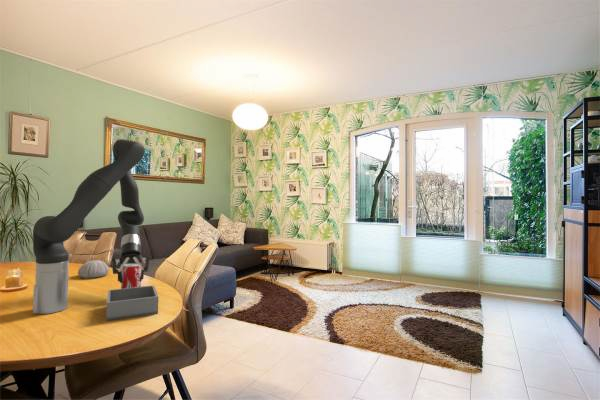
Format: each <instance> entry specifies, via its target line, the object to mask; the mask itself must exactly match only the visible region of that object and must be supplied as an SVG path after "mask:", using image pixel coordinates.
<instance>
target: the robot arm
mask: <svg viewBox="0 0 600 400" xmlns="http://www.w3.org/2000/svg"><path fill="white" fill-rule="evenodd" d="M145 151H146V149H145V146H144V145H143V144H142V143H141V142H137V141H134V140H129V139H123V138H122V139H118V140H116V141H115V142H114V143H113V146H112V154H113V160H114V161H113V162H111V163H109V164H107V165H105V166H103V167H100V168H98V169H96V170H94V171H92V172H91V173H90V174H89V175H88V176H87V177H86V178H85V179H84V180H83V181H82V182H80V184H79V185H78V187H77V188H76V191H75V193H74V195H73V198H72V200H71V201H70V202H69V204H68V205H67V206H66V207H65V208H64V209H63V210H62V211H61V212H60V213H58V214H57V215H46V216H42V217H41V218H39V219H37V221H36V222H35V223H34V225H33V229H32V245H33V246H32V247H33V248H32V250H33V254H34V256H35V283H34V285H33V294H32V295H33V296H32V297H33V299H32V301H33V302H32V303H33V305H32V314H33V315H37V314H39V315H40V314H41V315H44V314H53V313H59V312H61V311H64V310H66V309H67V308H68V305H69V302H68V301H69V298H68V297H69V271H70V270H69V268H70V267H69V263H70V262H69V261H70V260H69V259H70V254H69V252H68V250H67V249H66V247H65V244H64V242H66V241H68V240H69V239H70V238H72V236H73V235H74V234H75V233H76V231H77V230H78V229H79V227H80V226H81V225H82V223H83V221H84V220H85V219H86V217H88V215H89V214H90V213H91V212H92V210H93V209H95V208H96V207H97V205H98V204H99V203H100V202H101V201H102V200H103V199H104V198H105V197H106V196H107V195H108V194H109V193H110V192H111V191H112V190H113V188H115V187H114V186H115V185H117V184H118V183H119V186H120V199H121V205H122V207H124V208H127V209H128V208H130V209H132V210H121V211H120V212H119V213H118V215H117V221H118V223H119V226H120V228H121V242H120V258H118V259H117V258H114V257H113V258H112V259H111V269H112V274H113V275H117V282H119V283H120V284H121V283H122V269H123V267H124V265H125V264H129V263H138V264H140V267H141V276H140V281H141V282H142V281H143V279H144V274H145V272H146V273H147V272H148V271H149V265H150V257H149V256H146V257H143V256H142V244H141V230H140V227H139V226H141V225H142V224H143V223H144V220H145V216H144V214H143V211H142V208H141V206H140V199H139V198H140V196H139V195H140V194H139V187H138V184H137V181H136V180H135V178H134V176H133V174H132V172H131V170H132V169H133V168H134V167H135V166H136V165H138V164H139V163H140V162H141V161H142V160H143V158H144V156H145ZM142 262H143V264H145V265H144V267H143V266H142V264H141V263H142ZM118 264H120V266H119V268H118V269H117V265H118Z"/></svg>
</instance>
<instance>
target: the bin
mask: <svg viewBox="0 0 600 400" xmlns="http://www.w3.org/2000/svg"><path fill="white" fill-rule="evenodd" d="M106 297H107V299H106V315H105V317H106V318H105V319H106V320H105V321H106V322H109V321H116V320H117V321H118V320H123V319H129V318H131V319H132V318H135V317H136V318H137V317H144V316H150V315H151V316H152V315H157V314H159V294H158V291H157V289H156V286H155V285H145V286H141V287H133V288H124V289H121V288H115V289H108V290H107V296H106Z"/></svg>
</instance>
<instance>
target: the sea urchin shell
mask: <svg viewBox="0 0 600 400" xmlns="http://www.w3.org/2000/svg"><path fill="white" fill-rule="evenodd" d="M109 272H110V267H109V266H108V265H107V264H106V263H105V262H104V261H102V260H100V259H94V260H93V259H91V260H89V261H86V262H85V263H83V264H82V265H81V266H80V267H79V269H78V271H77V274H78V276H79V277H80V278H84V279H89V278H92V279H93V278H100V277H103V276H106V275H108V274H109Z"/></svg>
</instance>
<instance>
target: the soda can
mask: <svg viewBox="0 0 600 400" xmlns="http://www.w3.org/2000/svg"><path fill="white" fill-rule="evenodd" d="M140 264H141V263H140ZM140 264H138V263H129V264H125V265H124V267H123V269H122V283H120V289H124V288H133V287H142V286H141V285H142V281H140V276H141V267H140Z"/></svg>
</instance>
